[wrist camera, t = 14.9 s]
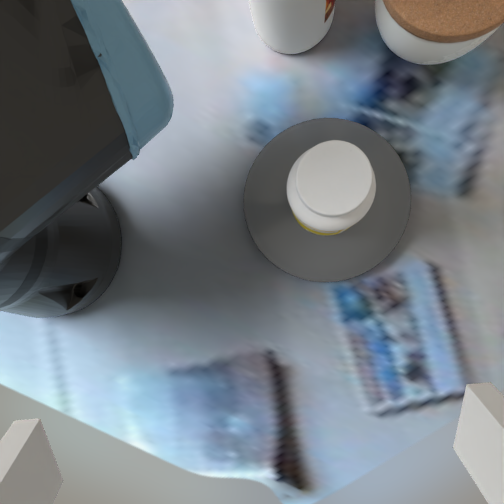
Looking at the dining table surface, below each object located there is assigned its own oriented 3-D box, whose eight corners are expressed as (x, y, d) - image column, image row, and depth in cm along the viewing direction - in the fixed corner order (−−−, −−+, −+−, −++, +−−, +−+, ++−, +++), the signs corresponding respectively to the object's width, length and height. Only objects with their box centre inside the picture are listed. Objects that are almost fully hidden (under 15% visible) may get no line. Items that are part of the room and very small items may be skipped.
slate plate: (245, 279, 36) (242, 280, 34) (246, 127, 36) (244, 121, 34) (406, 282, 33) (410, 283, 32) (406, 120, 34) (411, 114, 32)
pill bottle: (343, 157, 33) (362, 109, 22) (371, 220, 32) (404, 202, 22) (280, 186, 34) (268, 152, 23) (306, 247, 33) (307, 243, 22)
